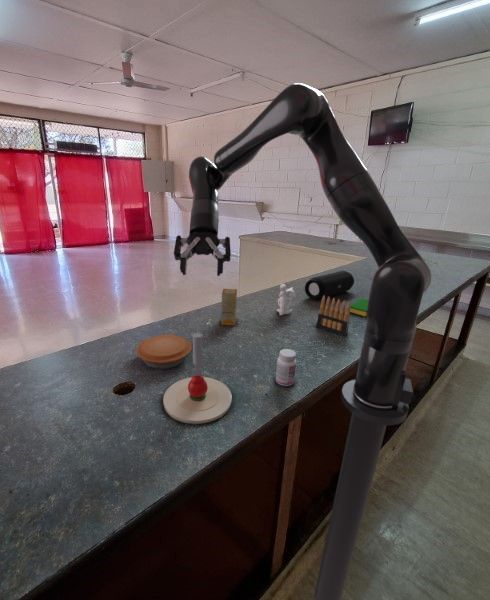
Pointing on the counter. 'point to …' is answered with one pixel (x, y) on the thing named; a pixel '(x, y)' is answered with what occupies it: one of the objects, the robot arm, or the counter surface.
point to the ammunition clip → (334, 316)
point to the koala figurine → (285, 299)
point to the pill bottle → (286, 367)
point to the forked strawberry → (197, 372)
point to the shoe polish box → (229, 307)
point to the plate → (197, 402)
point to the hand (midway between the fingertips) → (201, 273)
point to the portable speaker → (329, 284)
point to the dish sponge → (359, 307)
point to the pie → (164, 351)
